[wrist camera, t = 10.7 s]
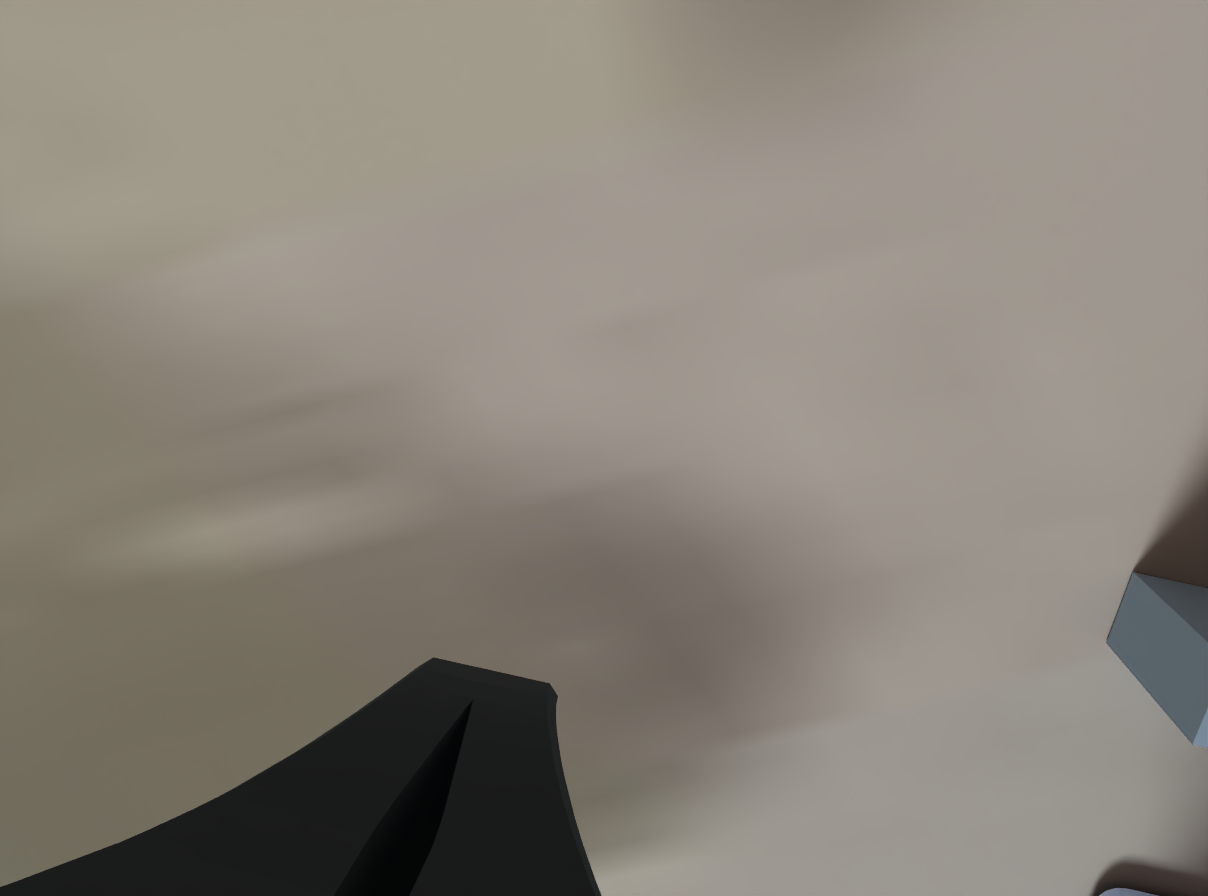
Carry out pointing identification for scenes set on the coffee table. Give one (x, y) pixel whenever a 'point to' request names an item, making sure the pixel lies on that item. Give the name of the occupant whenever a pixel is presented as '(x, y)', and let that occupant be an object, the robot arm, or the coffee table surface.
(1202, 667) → the grey rectangular tray
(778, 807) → the coffee table surface
